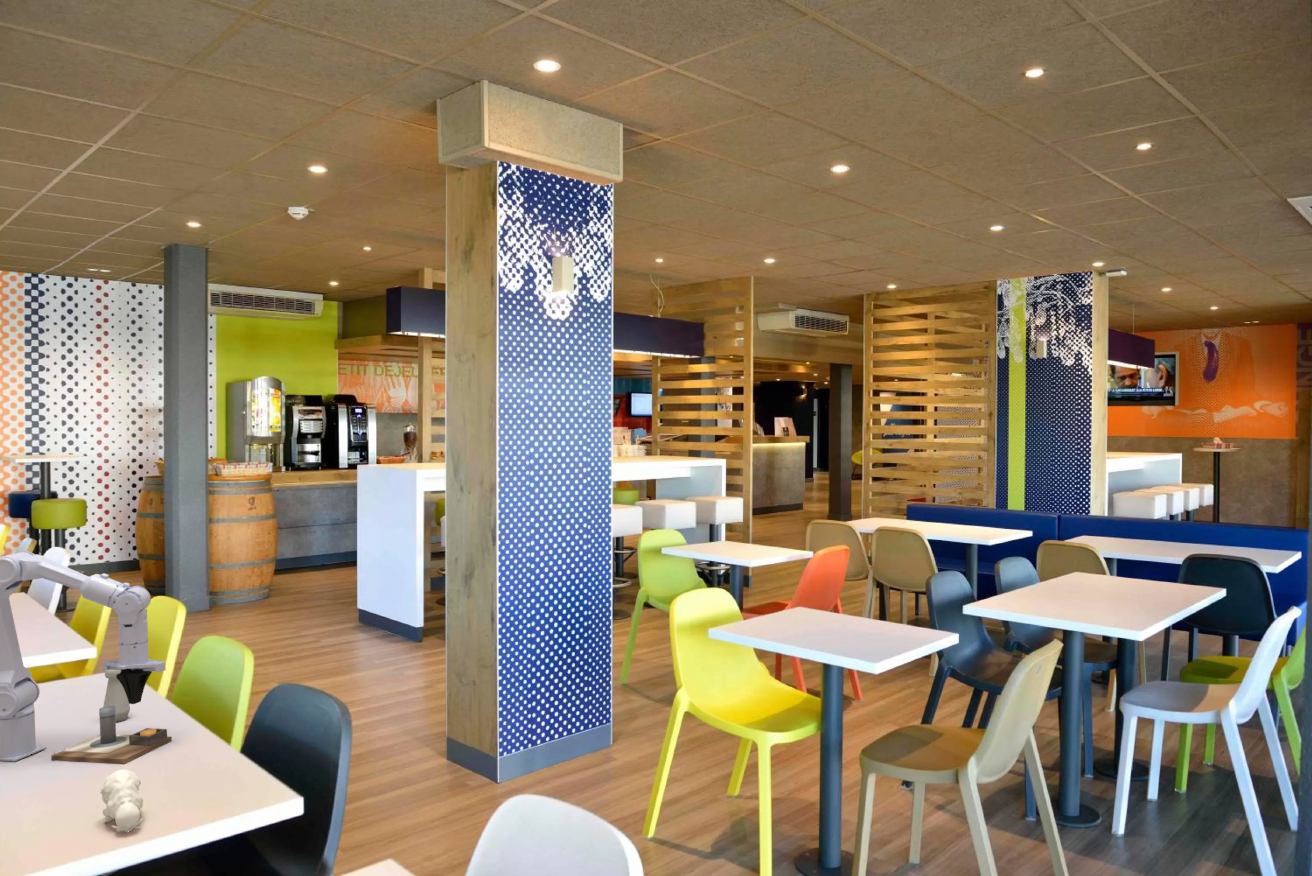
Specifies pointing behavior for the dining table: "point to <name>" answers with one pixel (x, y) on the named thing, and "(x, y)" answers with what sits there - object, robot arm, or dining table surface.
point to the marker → (107, 724)
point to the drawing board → (114, 748)
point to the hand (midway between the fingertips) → (135, 702)
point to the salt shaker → (116, 695)
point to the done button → (147, 732)
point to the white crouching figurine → (122, 800)
